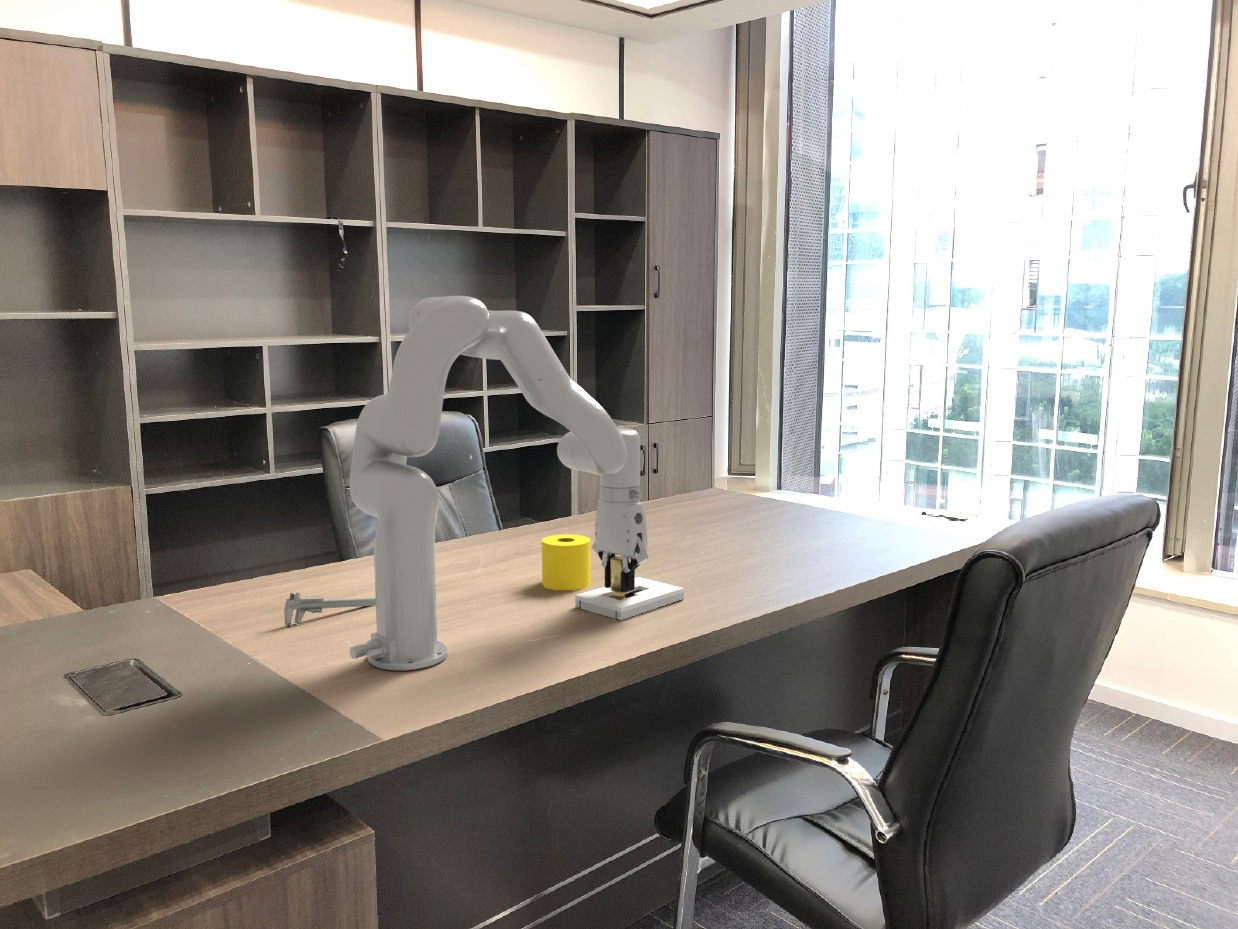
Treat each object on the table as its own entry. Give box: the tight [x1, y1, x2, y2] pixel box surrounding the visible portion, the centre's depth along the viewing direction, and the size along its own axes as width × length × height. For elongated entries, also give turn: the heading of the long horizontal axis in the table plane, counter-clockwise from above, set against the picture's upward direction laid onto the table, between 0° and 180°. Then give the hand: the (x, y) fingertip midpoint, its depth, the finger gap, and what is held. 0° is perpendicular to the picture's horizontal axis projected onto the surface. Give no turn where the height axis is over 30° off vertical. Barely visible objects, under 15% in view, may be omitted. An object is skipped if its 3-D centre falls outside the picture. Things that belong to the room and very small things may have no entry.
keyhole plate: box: [574, 576, 685, 621], centre depth 184 cm, size 18×12×2 cm, turn 137°
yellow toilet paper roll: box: [541, 534, 591, 591], centre depth 197 cm, size 10×10×9 cm
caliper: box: [283, 592, 376, 627], centre depth 177 cm, size 20×1×6 cm, turn 138°
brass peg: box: [610, 555, 627, 600], centre depth 181 cm, size 4×4×9 cm
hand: (619, 587), depth 181 cm, fingers closed on brass peg, 3 cm apart
